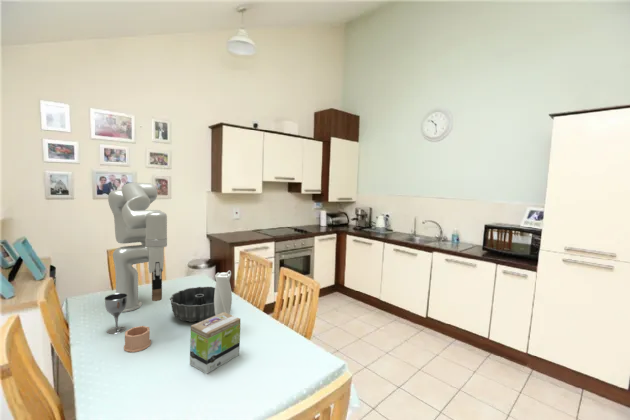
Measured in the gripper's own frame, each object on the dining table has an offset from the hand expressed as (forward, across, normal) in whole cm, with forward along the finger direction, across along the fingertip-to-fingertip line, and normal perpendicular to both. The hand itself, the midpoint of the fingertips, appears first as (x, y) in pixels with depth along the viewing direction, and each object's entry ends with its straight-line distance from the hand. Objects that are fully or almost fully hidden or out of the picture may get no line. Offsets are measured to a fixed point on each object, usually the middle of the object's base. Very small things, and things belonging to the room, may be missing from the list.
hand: (156, 286), depth 119 cm
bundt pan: (+23, -16, +20) cm, 34 cm away
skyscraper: (+22, +7, +25) cm, 34 cm away
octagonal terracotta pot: (+22, +2, -7) cm, 23 cm away
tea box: (+22, +26, +18) cm, 38 cm away
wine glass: (+22, -16, -14) cm, 31 cm away
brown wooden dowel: (+5, 0, 0) cm, 5 cm away
